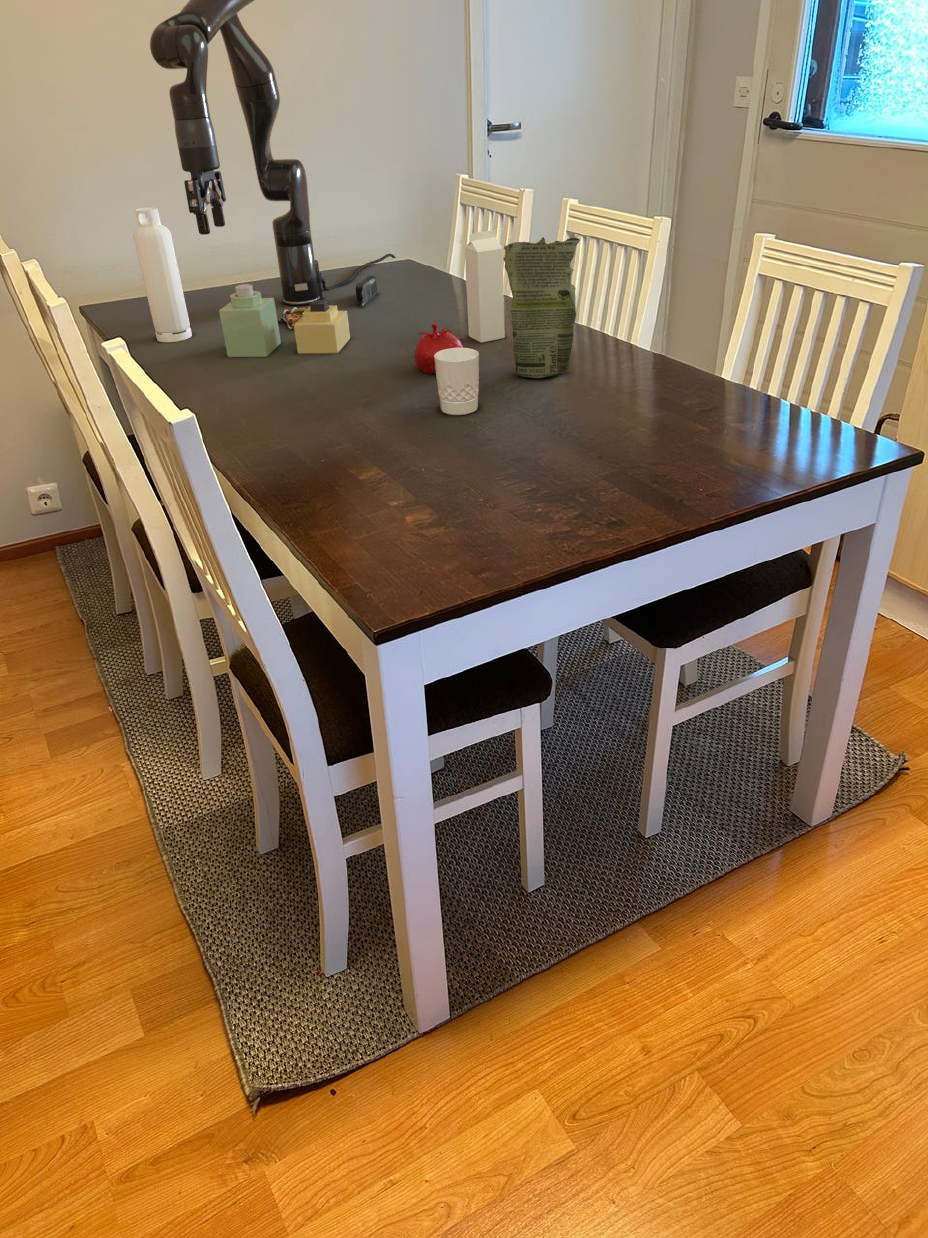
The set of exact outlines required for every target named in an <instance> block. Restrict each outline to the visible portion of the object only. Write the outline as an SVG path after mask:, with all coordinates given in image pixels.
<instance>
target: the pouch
mask: <svg viewBox="0 0 928 1238" xmlns="http://www.w3.org/2000/svg"><path fill="white" fill-rule="evenodd" d="M580 242H581V238H577V236H572V237H569V238H566V240H563V241H560V240H555V241H553V242H549V243H547V242H546V238H545V237H544V236H542V237H541V239H540V240H539V241H537V242H530V241H515V242H512V243H508V244H507V245H504V246H503V249H504V257H503V263H504V269H505V271H506V273H507V278H508V284H509V288H510V291H511V296H512V299H511V303H510V309H511V310H510V313H511V327H512V339H513V341H512V344H511V346H512V348H511V349H512V354H513V360H514V364H515V375H517V376H519V377H522V378H531V379H544V378H548V377H549V378H550V377H554V376H555V375H558V374H560V373H563V372H568V373H569V370H570V361H571V360H570V359H571V355H572V349H573V341H574V333H575V322H576V317H577V310H576V309H577V306H576V305H577V304H576V303H577V302H576V299H577V297H576V290H577V289H576V286H575V285H574V284H572V274H573V272H574V269H573V267H572V261H573V259H574V257H575V255H576V250H577V245H578V244H579V243H580Z"/></svg>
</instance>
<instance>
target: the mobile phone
mask: <svg viewBox="0 0 928 1238" xmlns="http://www.w3.org/2000/svg"><path fill="white" fill-rule="evenodd" d="M377 294H378V285H377V278H376V276H375V275H367V276H366V277H364V278H363V279H362V280H360V281H358V282H357V283H356V284H355V297H356V303H357V304H360V307H361V308H363V307H364V306H365V305H366V304H367V303H369V302H370V300H372V299H373V298H374V297H376V296H377Z"/></svg>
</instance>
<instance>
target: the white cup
mask: <svg viewBox="0 0 928 1238" xmlns="http://www.w3.org/2000/svg"><path fill="white" fill-rule="evenodd" d="M434 359H435V368H436V374H435V376H436V384H437V392H438V397H439V407H440V410H441V412H442V413H444V414H447V415H451V416H463V415H468V414H472V413H474V412H475V411H477V410H478V408H479V390H480V388H479V387H480V386H479V381H480V352H479V351H478V350H476V349H473V348H469V347H463V348H450V349H445V350H441V351H439V352H437V353H436V354H435V355H434Z"/></svg>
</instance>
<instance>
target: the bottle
mask: <svg viewBox="0 0 928 1238" xmlns="http://www.w3.org/2000/svg"><path fill="white" fill-rule="evenodd" d="M134 211H135V214H136V220H137V224H138V227H137V228H136V229H135V231H133V236H132V237H133V241H134V245H135V250H136V255H137V258H138V262H139V267H140V271H141V277H142V280H143V286H144V290H145V293H146V298H147V302H148V307H149V311H150V315H151V319H152V324H153V328H154V330H155V332H154V333H155V336H156V340H157V342H160V343H176V342H183V341H186V340H187V339H190V338H192V337H193V333H192V327H190V325H191V322H190V318H189V314H188V309H187V303H186V299H185V295H184V290H183V284H182V279H181V274H180V271H179V270H180V269H179V265H178V260H177V256H176V252H175V251H176V250H175V246H174V241H173V237H172V232H171V231H170V229H169V228H168V227H167V226H165V225H163V224H162V222H161V218H160V212H159V208H158V207H157V206H147V207H139V208H136V209H135V210H134ZM146 214H148V216H146Z"/></svg>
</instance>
